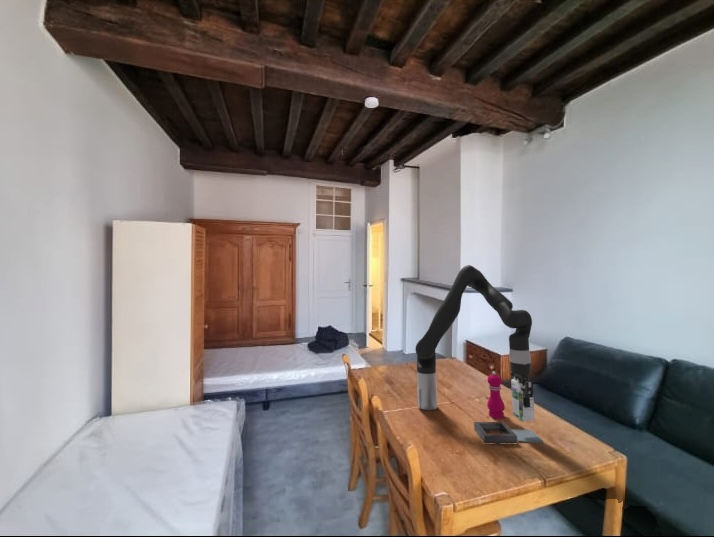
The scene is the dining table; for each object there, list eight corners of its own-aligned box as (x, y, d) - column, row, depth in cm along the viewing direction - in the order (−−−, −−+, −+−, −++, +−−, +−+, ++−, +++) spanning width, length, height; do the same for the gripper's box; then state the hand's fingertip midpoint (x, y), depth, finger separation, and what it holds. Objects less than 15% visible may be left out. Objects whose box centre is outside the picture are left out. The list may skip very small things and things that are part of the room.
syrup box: (512, 415, 122) (510, 378, 123) (526, 414, 123) (523, 378, 124) (521, 421, 117) (518, 383, 118) (535, 420, 117) (533, 382, 118)
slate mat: (518, 442, 115) (518, 440, 115) (508, 431, 124) (507, 429, 124) (542, 442, 114) (542, 440, 114) (530, 431, 123) (530, 429, 123)
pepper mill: (491, 411, 143) (489, 368, 145) (507, 415, 138) (505, 371, 140) (485, 416, 138) (482, 371, 140) (501, 421, 133) (499, 374, 134)
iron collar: (484, 444, 114) (484, 435, 114) (474, 429, 126) (473, 421, 126) (517, 444, 113) (516, 435, 114) (503, 429, 125) (503, 421, 126)
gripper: (502, 356, 129) (505, 397, 128) (518, 365, 114) (521, 411, 113) (521, 356, 128) (523, 397, 127) (539, 365, 114) (542, 411, 113)
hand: (522, 403), depth 120 cm, fingers closed on syrup box, 6 cm apart
